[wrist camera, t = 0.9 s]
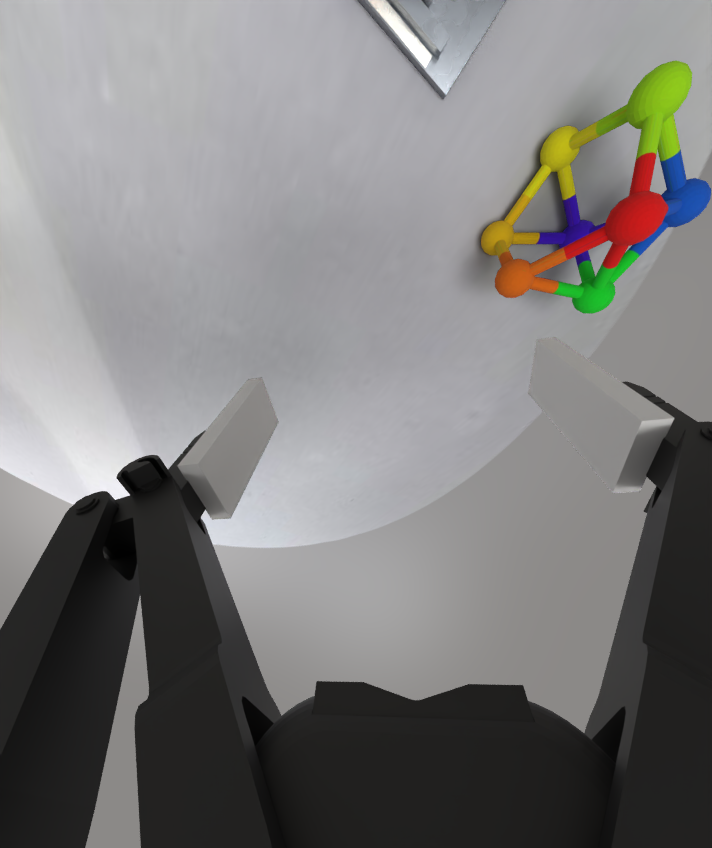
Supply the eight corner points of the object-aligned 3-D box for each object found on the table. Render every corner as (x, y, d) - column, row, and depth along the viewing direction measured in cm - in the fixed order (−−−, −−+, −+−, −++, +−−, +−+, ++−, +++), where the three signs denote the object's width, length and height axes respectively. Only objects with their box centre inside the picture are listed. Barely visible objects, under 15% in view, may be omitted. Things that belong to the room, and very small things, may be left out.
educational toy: (558, 301, 37) (635, 359, 25) (462, 262, 35) (497, 307, 24) (684, 131, 27) (902, 100, 16) (559, 67, 25) (699, -20, 14)
